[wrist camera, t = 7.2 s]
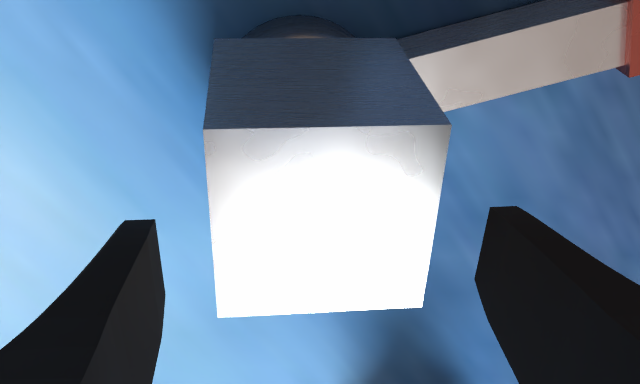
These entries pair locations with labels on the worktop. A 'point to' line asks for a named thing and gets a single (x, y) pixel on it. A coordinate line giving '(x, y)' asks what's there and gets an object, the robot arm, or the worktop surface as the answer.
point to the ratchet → (505, 47)
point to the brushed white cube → (320, 175)
